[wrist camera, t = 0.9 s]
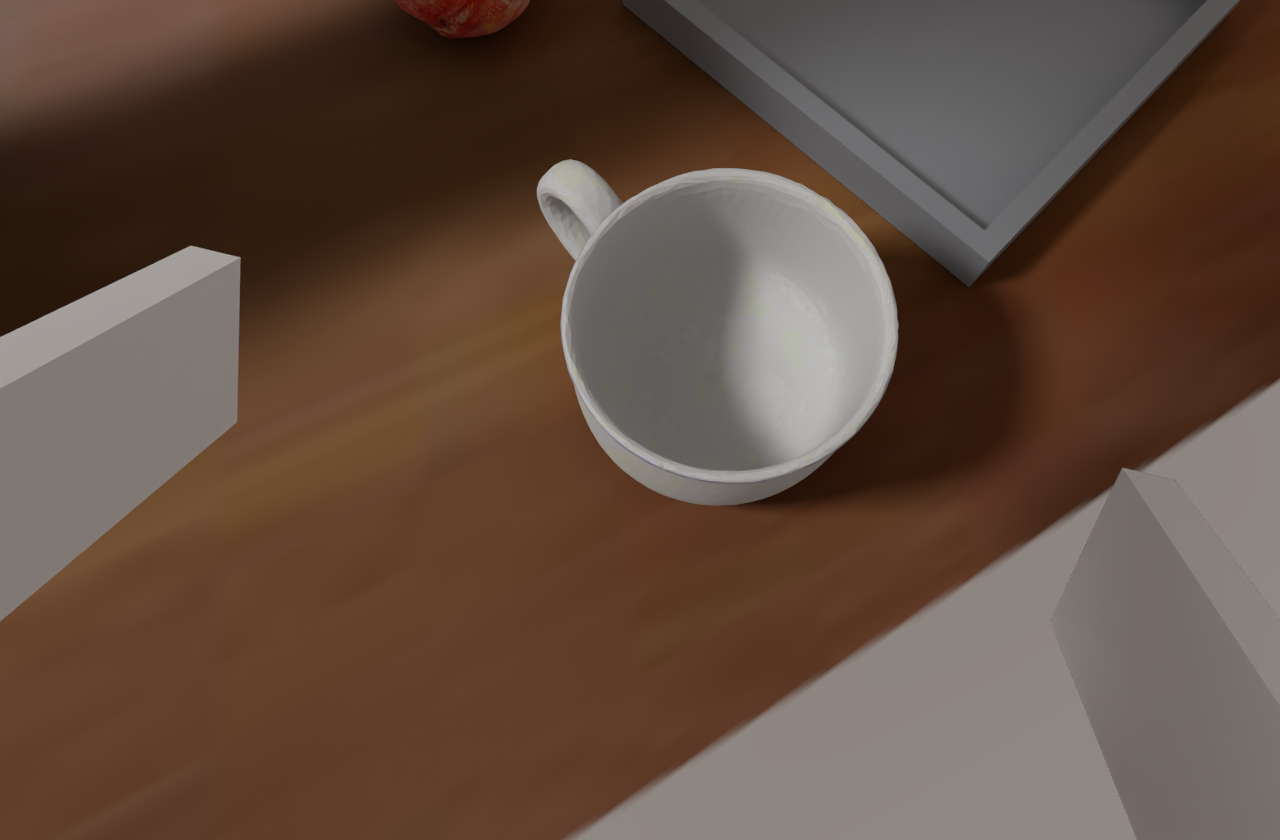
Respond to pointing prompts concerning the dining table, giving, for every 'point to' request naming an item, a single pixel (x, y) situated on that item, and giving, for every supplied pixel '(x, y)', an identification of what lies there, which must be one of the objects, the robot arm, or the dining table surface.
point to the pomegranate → (464, 15)
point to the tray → (942, 95)
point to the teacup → (719, 327)
